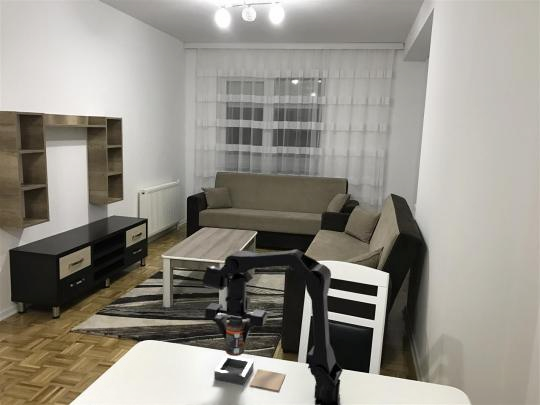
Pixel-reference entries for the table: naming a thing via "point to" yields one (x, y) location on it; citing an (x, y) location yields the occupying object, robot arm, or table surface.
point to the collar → (232, 376)
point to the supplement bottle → (235, 337)
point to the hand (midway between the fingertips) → (235, 339)
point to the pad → (268, 380)
